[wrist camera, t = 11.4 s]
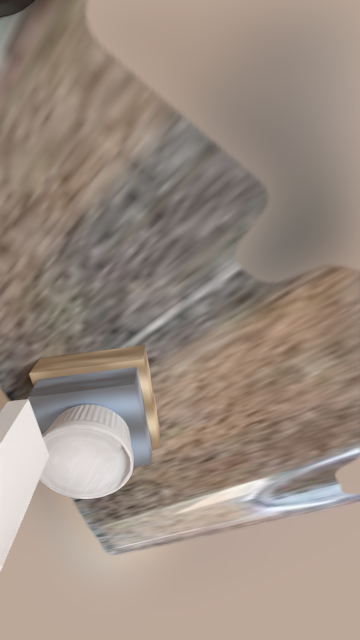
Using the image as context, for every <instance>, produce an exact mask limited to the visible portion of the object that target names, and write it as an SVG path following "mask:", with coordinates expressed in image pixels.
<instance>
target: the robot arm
mask: <svg viewBox="0 0 360 640" xmlns="http://www.w3.org/2000/svg"><path fill="white" fill-rule="evenodd" d="M33 1H34V0H0V16H4V15H9V14H12V13H15V12H18V11H20V10H22V9H23V8H25V7H27V6H28V5H29V4H31V3H32V2H33ZM48 457H49V453H48V451H47V448H46V445H45V442H44V440H43V437H42V434H41V432H40V429H39V426H38V423H37V421H36V418H35V415H34V412H33V410H32V407H31V404H30V402H29V399H24V400H16V401H9V402H7V403H6V405H5V406H4V408H3V409H2V410H1V412H0V571H1V569H2V566H3V564H4V562H5V559H6V557H7V555H8V552H9V549H10V548H11V545H12V543H13V540H14V538H15V536H16V533H17V531H18V528H19V526H20V524H21V521H22V519H23V516H24V514H25V512H26V510H27V507H28V505H29V502H30V500H31V497H32V495H33V493H34V491H35V488H36V486H37V483H38V481H39V479H40V476H41V474H42V472H43V469H44V467H45V465H46V462H47V460H48Z"/></svg>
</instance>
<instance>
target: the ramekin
mask: <svg viewBox="0 0 360 640" xmlns="http://www.w3.org/2000/svg"><path fill="white" fill-rule="evenodd" d="M42 437H43V440H44V442H45V445H46V448H47V451H48V453H49V457H48V460H47V462H46V465H45V467H44V469H43V472H42V474H41V476H40V480H41V481H42V482H43V483H44V484H45V485H46V486H48V487H49V488H50V489H52V490H54V491H55V492H57V493H60V494H63V495H65V496H69V497H72V498H79V499H91V498H98V497H103V496H106V495H109V494H111V493H113V492H115V491H117V490H118V489H120V488H121V487H122V486H123V485H124V484H125V483H126V482H127V481H128V480H129V478H130V476H131V474H132V471H133V465H134V456H133V451H132V448H131V439H130V432H129V428H128V426H127V424H126V422H125V421H124V420H123V419H122V418H121V417H120V416H119V415H118V414H117V413H115V412H114V411H112V410H111V409H109V408H106V407H103V406H100V405H93V404H86V405H79V406H75V407H72V408H70V409H67V410H66V411H64V412H63V413H62V414H60V415H59V416H58V417H57V418H56V420H55V421H54V422H53V423H52V425H51V426H50V427H49V429H48V430H47V431H46V432H44V433H43V434H42Z"/></svg>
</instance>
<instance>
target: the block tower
mask: <svg viewBox="0 0 360 640" xmlns="http://www.w3.org/2000/svg"><path fill="white" fill-rule="evenodd" d="M29 375H30V378H31V381H32V383H33V386H34V388H33V389H32V391H31V392H30V394H29V395H28V397H27V399H29V402H30V404H31V407H32V410H33V412H34V415H35V418H36V421H37V423H38V426H39V429H40V432H41V434H43V433H44V432H46V431H47V430H48V429H49V427H50V426H51V425H52V423H53V422H54V421H55V420H56V418H57V417H58V416H59V415H60V414H62V413H63V412H64V411H66V410H67V409H70V408H72V407H75V406H79V405H86V404H93V405H100V406H103V407H106V408H109V409H111V410H112V411H114V412H115V413H117V414H118V415H119V416H120V417H121V418H122V419H123V420H124V421H125V422H126V424H127V426H128V428H129V432H130V439H131V448H132V451H133V456H134V465H133V466H141V465H149V464H151V454H152V448H154V447H160V426H159V420H158V415H157V409H156V403H155V398H154V392H153V387H152V381H151V375H150V370H149V364H148V358H147V353H146V347H145V345H142V346H134V347H126V348H118V349H110V350H102V351H94V352H86V353H78V354H71V355H63V356H55V357H47V358H40V359H39V360H38V362H37V363H36V365H35V366H34V367H33V369H32V370H31V372H30V373H29Z"/></svg>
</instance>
